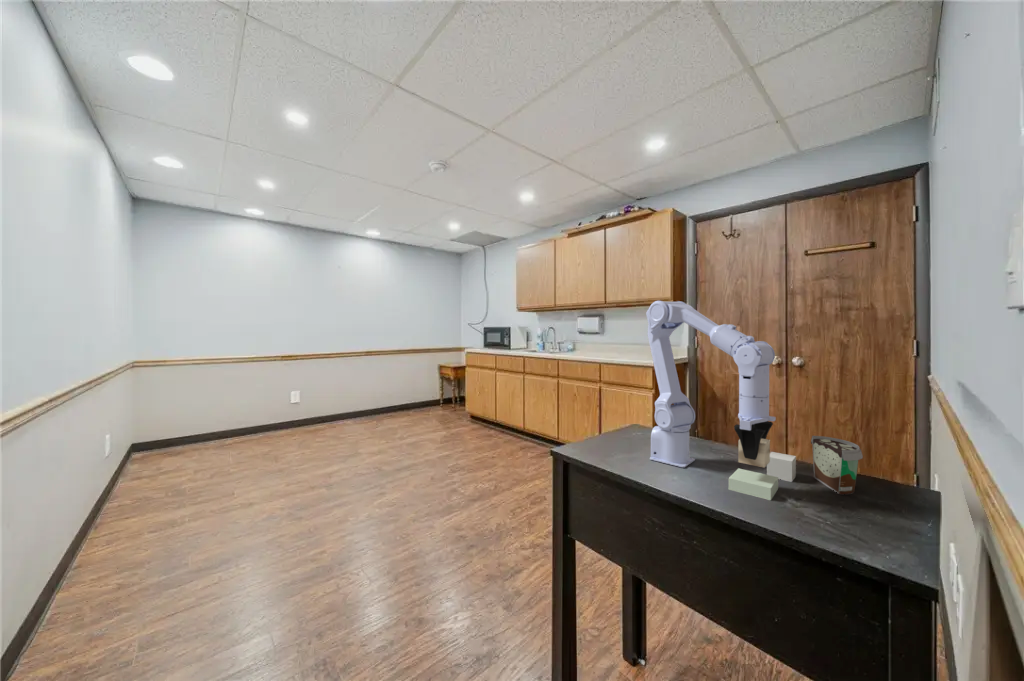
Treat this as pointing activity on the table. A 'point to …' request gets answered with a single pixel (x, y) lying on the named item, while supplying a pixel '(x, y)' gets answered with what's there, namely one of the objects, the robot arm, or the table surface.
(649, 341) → the robot arm
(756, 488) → the sage block
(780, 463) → the grey block
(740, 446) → the birch cube
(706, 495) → the table surface
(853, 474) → the food container
